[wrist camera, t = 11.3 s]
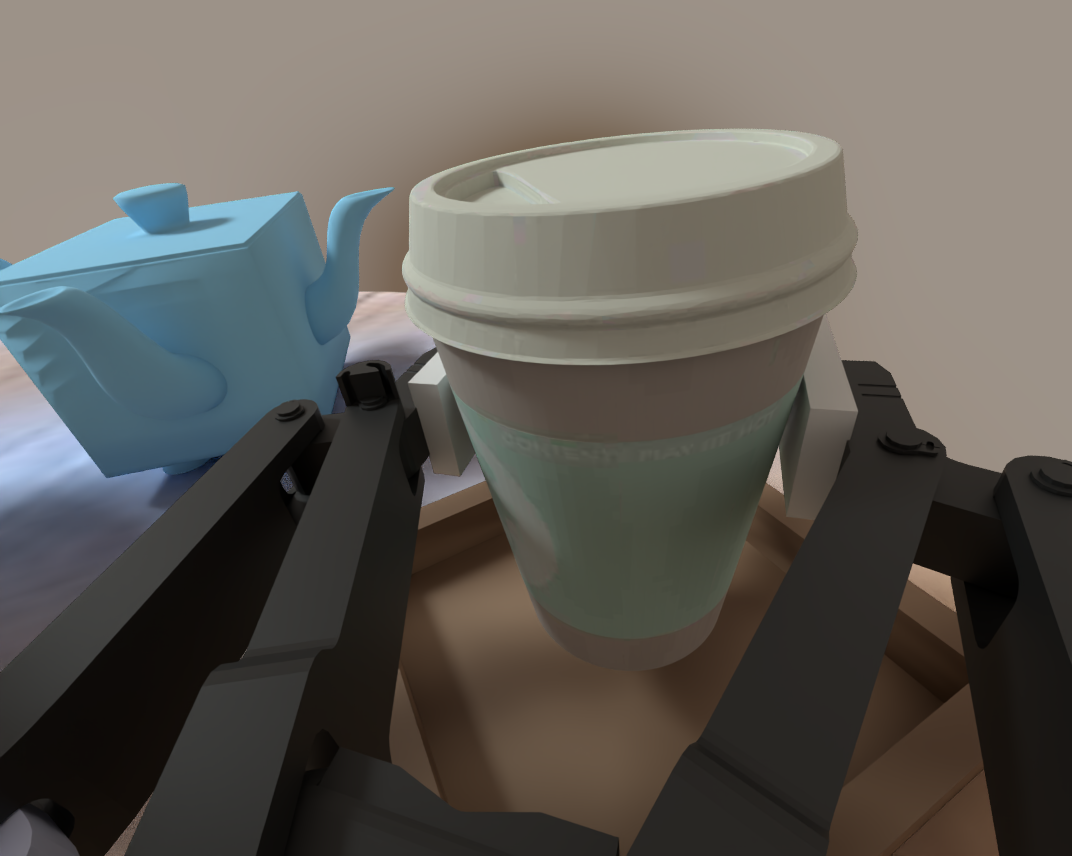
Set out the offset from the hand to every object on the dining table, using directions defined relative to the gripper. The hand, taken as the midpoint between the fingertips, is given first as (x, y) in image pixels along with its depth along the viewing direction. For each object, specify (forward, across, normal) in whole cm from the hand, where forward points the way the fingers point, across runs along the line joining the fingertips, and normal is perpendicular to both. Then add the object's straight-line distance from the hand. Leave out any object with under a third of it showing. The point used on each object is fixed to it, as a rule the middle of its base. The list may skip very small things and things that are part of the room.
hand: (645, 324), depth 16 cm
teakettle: (+6, -26, -11) cm, 29 cm away
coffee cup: (-5, 0, -7) cm, 8 cm away
